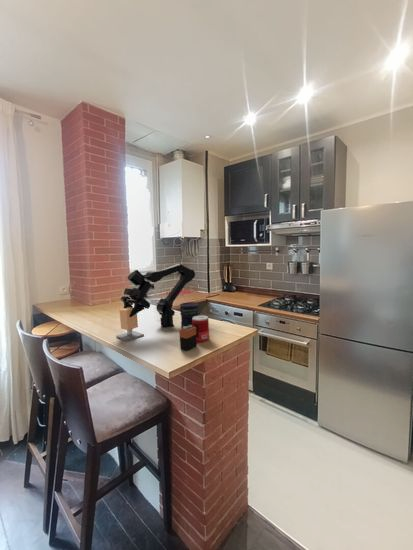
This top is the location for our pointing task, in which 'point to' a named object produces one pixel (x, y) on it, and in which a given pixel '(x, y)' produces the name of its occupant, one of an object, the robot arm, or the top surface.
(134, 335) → the peg stand
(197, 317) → the canned food
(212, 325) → the top surface
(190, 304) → the storage jar
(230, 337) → the top surface
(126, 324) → the wooden block
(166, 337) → the top surface
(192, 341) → the battery
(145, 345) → the top surface
